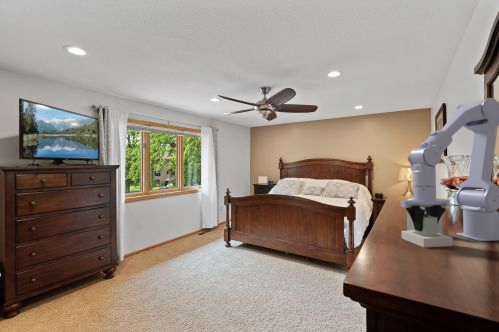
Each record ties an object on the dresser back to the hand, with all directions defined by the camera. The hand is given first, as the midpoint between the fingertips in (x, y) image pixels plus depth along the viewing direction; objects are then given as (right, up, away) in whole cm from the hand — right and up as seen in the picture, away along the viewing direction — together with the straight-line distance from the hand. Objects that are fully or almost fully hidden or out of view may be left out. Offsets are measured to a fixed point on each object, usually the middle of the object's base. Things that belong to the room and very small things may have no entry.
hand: (425, 230), depth 75 cm
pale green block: (0, -2, 0) cm, 2 cm away
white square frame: (0, -4, 0) cm, 4 cm away
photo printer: (+7, -4, +11) cm, 13 cm away
